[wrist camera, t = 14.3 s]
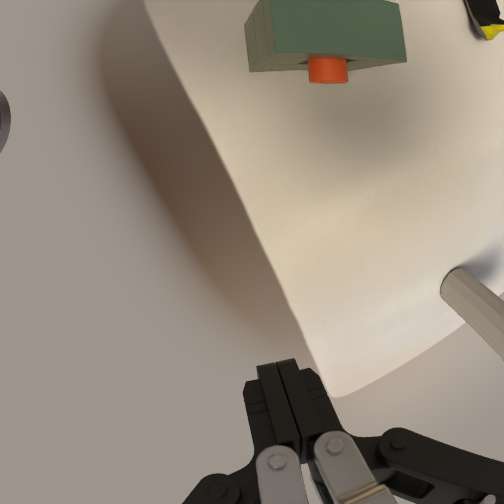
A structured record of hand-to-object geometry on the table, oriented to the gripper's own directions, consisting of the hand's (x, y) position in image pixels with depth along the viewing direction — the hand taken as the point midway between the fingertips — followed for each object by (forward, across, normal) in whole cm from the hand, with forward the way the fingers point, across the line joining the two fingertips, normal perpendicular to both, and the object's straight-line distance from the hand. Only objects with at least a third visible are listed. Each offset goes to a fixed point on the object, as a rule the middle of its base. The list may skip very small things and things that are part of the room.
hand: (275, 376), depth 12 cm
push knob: (+21, -11, -13) cm, 27 cm away
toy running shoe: (+27, -43, -31) cm, 59 cm away
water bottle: (+27, -40, +22) cm, 53 cm away
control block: (+27, -11, -17) cm, 34 cm away
